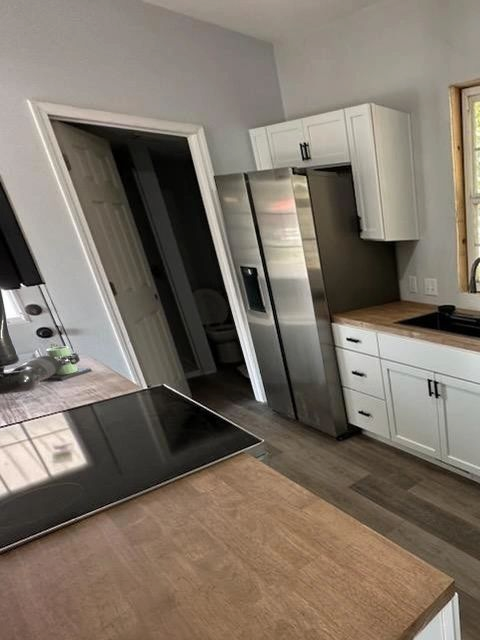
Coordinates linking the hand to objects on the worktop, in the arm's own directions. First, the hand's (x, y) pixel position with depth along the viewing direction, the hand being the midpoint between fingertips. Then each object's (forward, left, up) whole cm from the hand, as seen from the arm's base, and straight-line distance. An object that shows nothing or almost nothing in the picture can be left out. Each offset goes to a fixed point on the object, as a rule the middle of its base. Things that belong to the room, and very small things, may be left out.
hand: (64, 356), depth 164 cm
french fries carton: (-14, +8, -8) cm, 18 cm away
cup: (+1, -2, -6) cm, 6 cm away
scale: (-1, -2, -7) cm, 8 cm away
